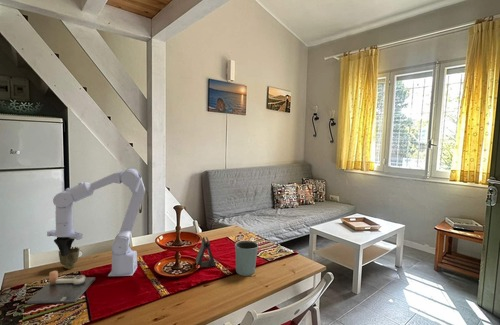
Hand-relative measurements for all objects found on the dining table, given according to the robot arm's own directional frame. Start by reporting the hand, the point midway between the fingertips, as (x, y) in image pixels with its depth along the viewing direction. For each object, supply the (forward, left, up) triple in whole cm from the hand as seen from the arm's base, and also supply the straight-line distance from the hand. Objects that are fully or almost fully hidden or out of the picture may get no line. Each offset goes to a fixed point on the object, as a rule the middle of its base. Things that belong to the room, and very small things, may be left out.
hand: (64, 255), depth 105 cm
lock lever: (-4, +6, -8) cm, 11 cm away
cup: (+3, -9, -10) cm, 14 cm away
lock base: (-4, +10, -9) cm, 14 cm away
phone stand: (-55, -9, -10) cm, 57 cm away
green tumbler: (-73, -2, -10) cm, 74 cm away
